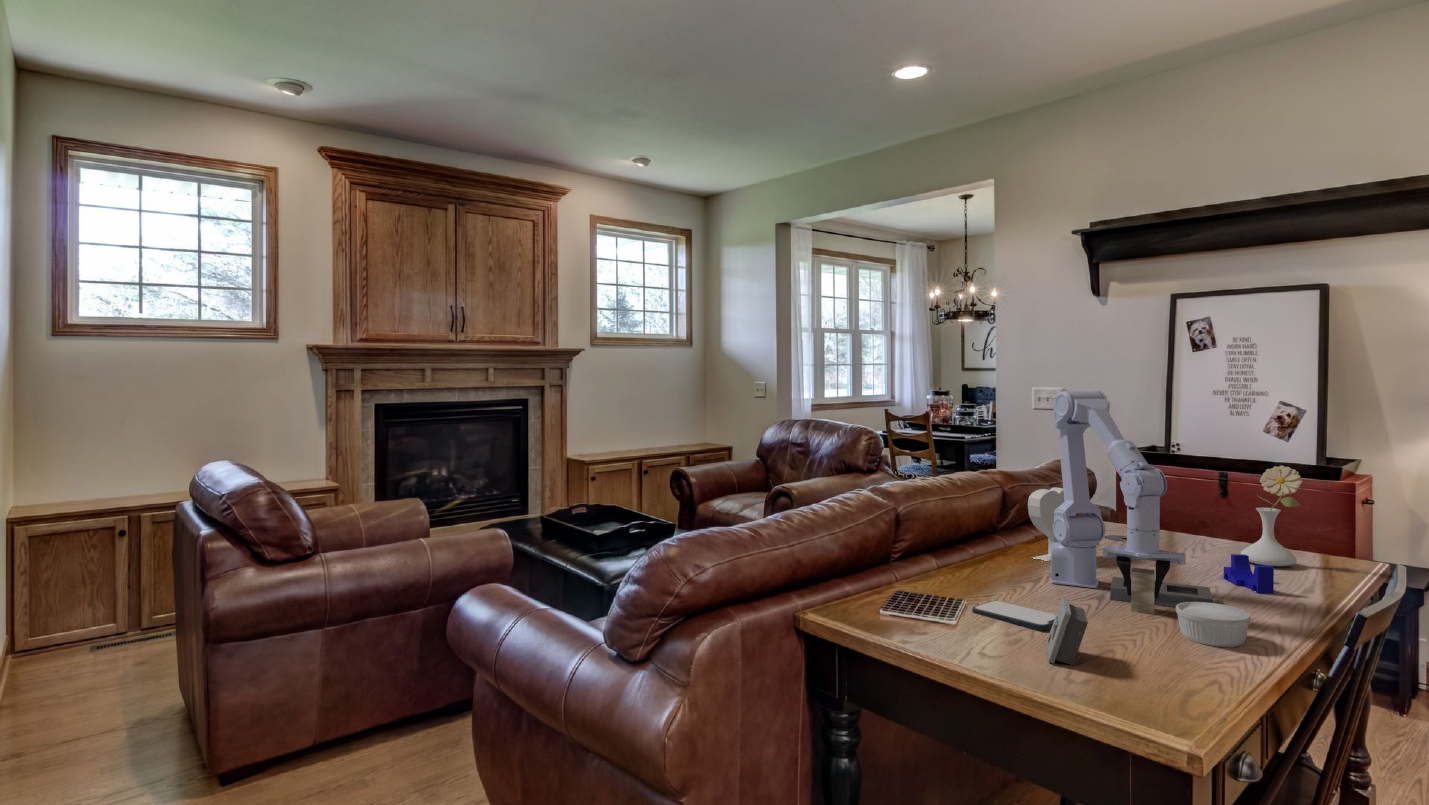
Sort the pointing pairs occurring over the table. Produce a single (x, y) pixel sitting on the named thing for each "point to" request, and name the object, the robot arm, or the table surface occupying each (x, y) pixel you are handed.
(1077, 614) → the electrical switch
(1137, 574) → the peg
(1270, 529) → the flower in vase
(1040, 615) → the phone case
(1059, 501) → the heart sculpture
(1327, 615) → the table surface
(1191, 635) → the ramekin
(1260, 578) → the cable clip
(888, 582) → the table surface
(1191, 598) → the grey slotted board
